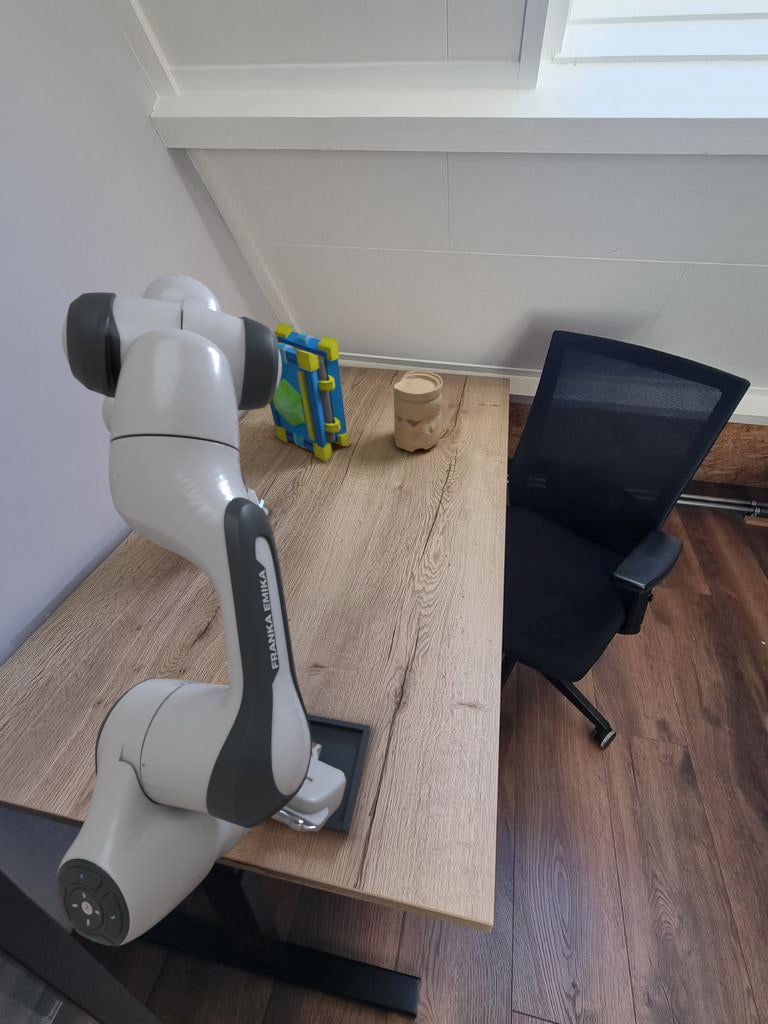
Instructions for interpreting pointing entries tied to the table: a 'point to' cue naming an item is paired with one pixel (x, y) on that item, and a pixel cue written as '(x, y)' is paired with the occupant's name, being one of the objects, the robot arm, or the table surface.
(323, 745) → the tray
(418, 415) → the container
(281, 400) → the decorative book
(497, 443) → the table surface
